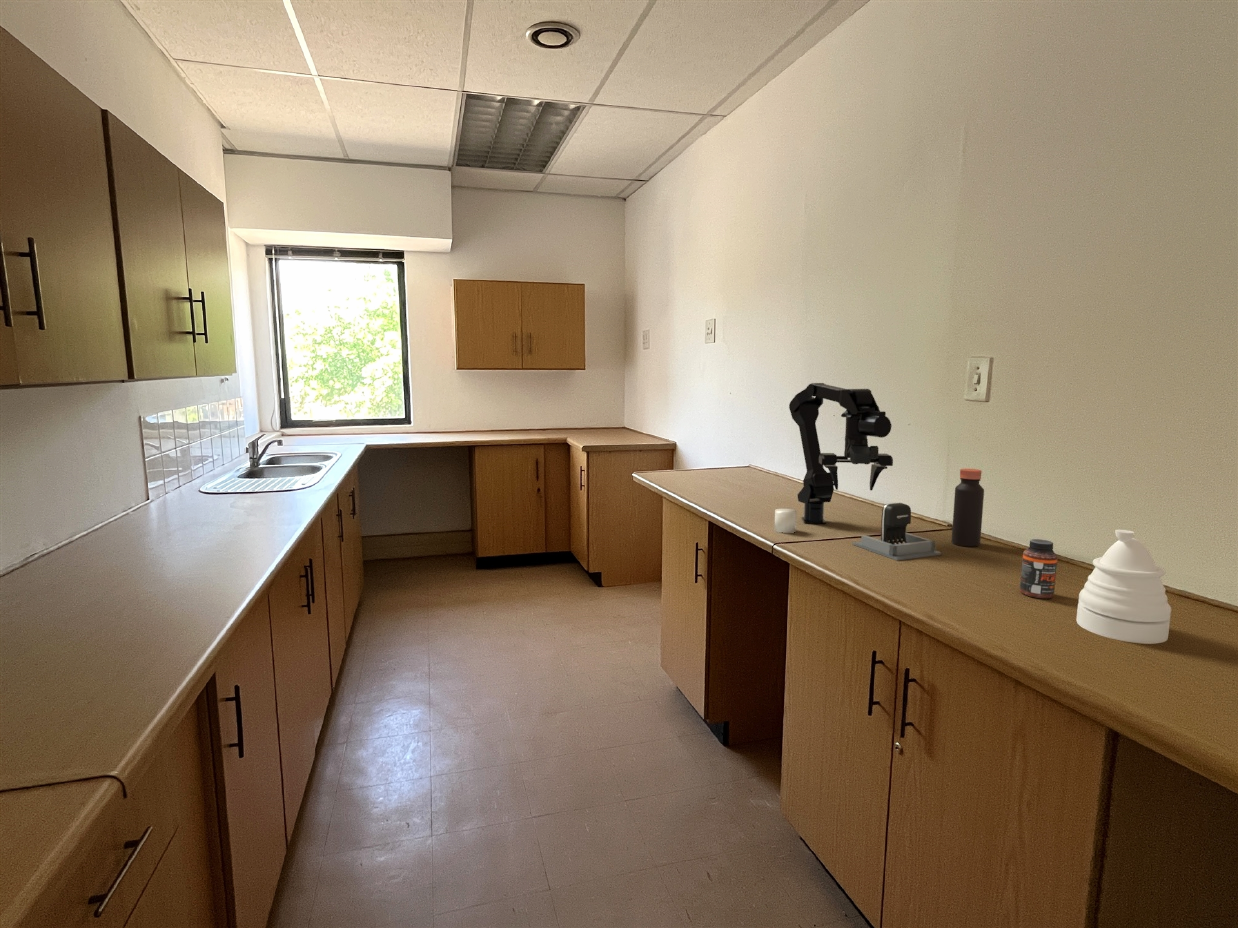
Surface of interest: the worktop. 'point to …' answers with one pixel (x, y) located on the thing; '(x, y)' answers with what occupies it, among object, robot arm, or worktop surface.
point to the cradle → (900, 547)
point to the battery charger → (895, 522)
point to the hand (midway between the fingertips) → (853, 489)
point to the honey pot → (1125, 595)
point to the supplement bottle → (1039, 569)
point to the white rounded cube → (785, 520)
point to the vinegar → (968, 509)
